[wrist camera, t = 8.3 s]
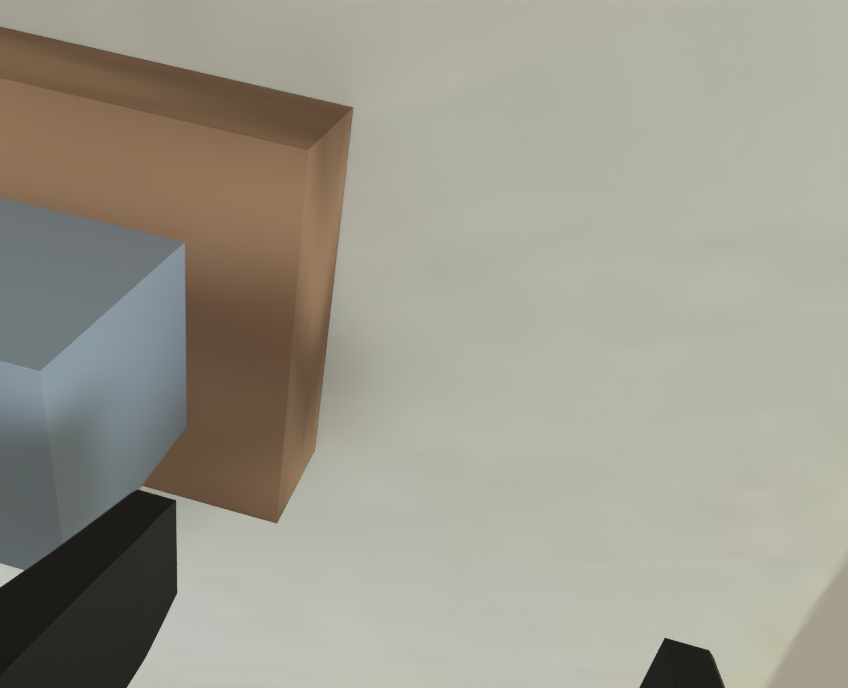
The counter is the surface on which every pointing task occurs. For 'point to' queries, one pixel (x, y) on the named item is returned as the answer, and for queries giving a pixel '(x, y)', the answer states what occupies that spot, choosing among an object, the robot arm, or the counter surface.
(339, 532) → the counter surface
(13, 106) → the walnut base
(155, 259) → the slate-blue cube
